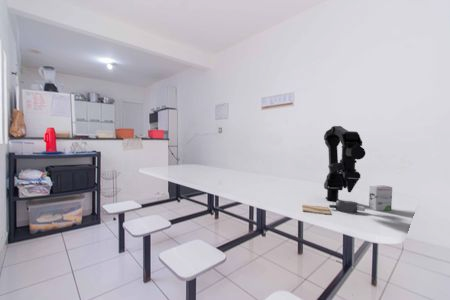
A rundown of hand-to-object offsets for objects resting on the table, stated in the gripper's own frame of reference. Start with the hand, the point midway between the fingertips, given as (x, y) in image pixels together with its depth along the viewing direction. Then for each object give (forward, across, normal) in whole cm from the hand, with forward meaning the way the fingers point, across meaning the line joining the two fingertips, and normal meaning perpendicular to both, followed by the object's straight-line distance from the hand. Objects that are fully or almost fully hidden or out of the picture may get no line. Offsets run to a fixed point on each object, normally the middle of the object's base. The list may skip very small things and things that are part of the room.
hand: (346, 190), depth 103 cm
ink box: (+10, -10, +17) cm, 22 cm away
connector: (+10, 0, 0) cm, 10 cm away
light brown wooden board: (+10, +4, -14) cm, 18 cm away
